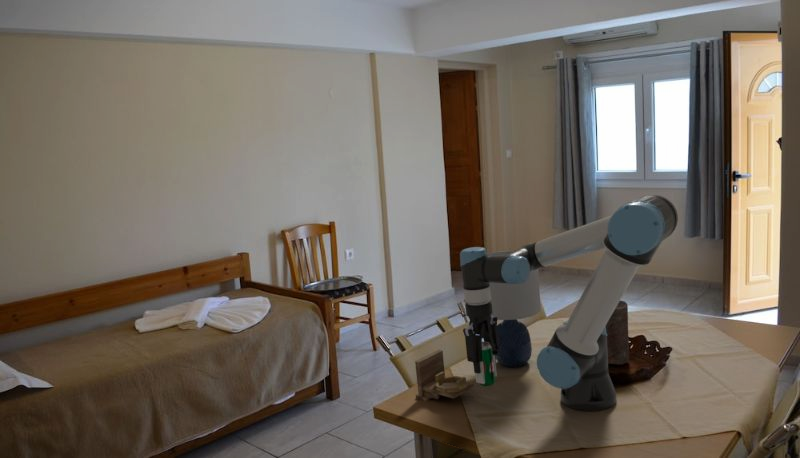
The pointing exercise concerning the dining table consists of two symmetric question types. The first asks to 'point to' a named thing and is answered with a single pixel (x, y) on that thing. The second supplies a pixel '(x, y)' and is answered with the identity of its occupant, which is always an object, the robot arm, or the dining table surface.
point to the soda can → (487, 364)
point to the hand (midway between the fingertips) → (486, 379)
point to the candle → (618, 335)
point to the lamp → (514, 316)
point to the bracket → (437, 379)
